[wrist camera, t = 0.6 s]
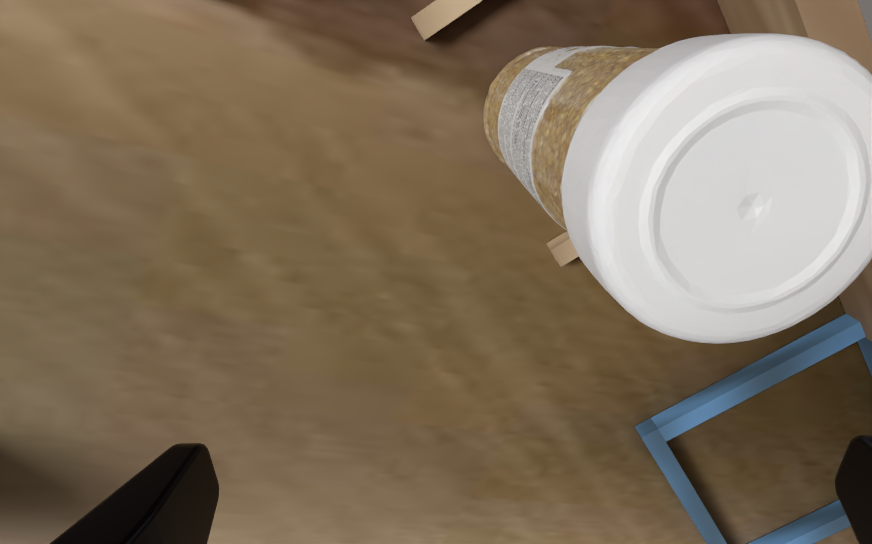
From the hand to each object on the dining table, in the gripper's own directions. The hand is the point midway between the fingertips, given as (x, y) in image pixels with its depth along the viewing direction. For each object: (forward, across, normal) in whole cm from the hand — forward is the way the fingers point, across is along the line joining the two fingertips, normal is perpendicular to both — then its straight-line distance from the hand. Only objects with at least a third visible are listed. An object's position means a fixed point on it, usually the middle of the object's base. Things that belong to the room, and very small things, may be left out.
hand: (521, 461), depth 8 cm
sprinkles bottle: (+15, -2, -1) cm, 15 cm away
